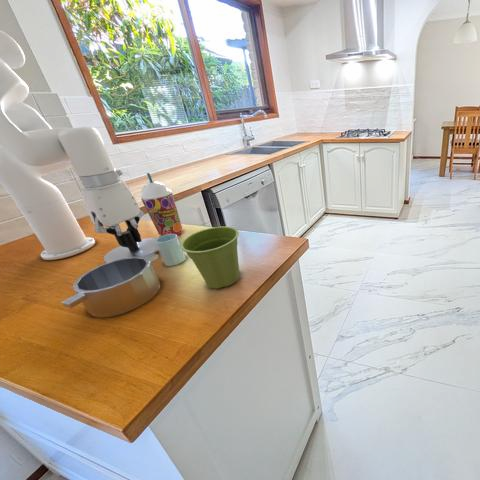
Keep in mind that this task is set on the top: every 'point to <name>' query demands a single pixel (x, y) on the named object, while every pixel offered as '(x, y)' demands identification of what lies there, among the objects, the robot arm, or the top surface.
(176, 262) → the measuring cup
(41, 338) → the top surface
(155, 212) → the smoothie
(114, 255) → the lid
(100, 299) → the silver cooking pot
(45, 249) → the robot arm
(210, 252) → the plant pot
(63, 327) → the top surface
